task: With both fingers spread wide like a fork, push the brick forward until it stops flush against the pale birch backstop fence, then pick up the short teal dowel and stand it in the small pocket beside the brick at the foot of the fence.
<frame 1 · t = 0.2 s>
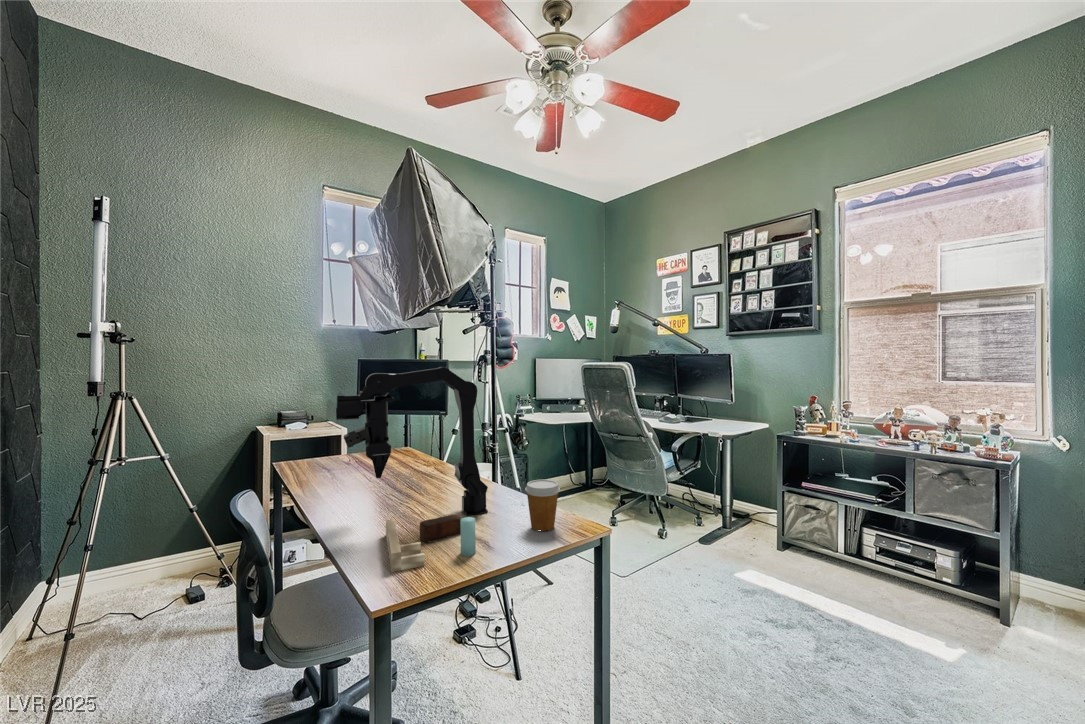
hand: (377, 474, 122), 14 cm above the table, tool pointing down, fingers open, 9 cm apart
backstop fence: (392, 551, 106), on the table
disposable coffee cup: (542, 528, 120), on the table
brick: (441, 537, 115), on the table
dowel: (468, 553, 104), on the table
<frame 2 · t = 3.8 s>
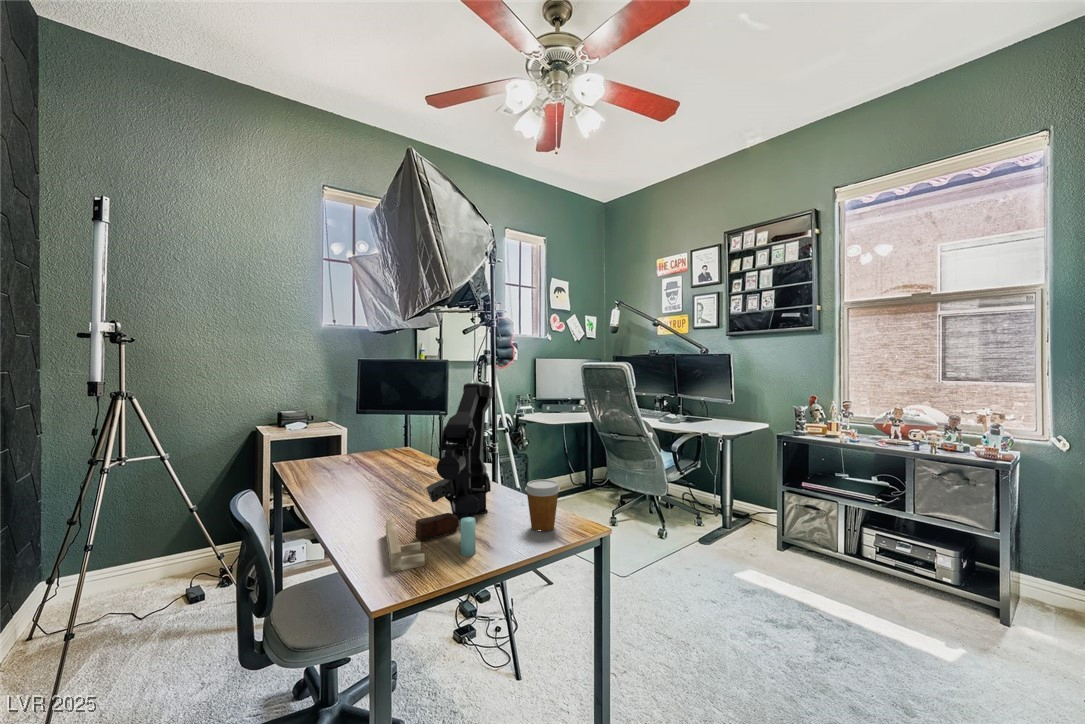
hand: (460, 527, 116), 2 cm above the table, tool pointing down, fingers open, 9 cm apart
brick: (437, 535, 116), on the table, touching gripper
everything else where it was.
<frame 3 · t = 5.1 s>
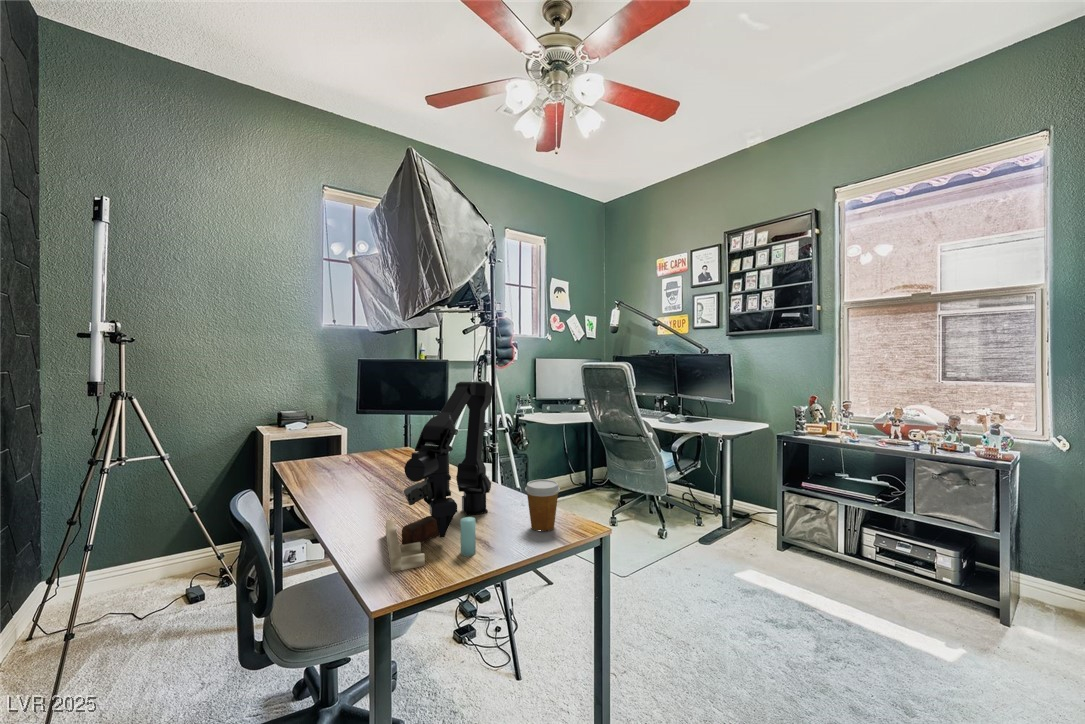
hand: (438, 530, 114), 2 cm above the table, tool pointing down, fingers open, 9 cm apart
brick: (422, 540, 113), on the table, touching gripper
everything else where it was.
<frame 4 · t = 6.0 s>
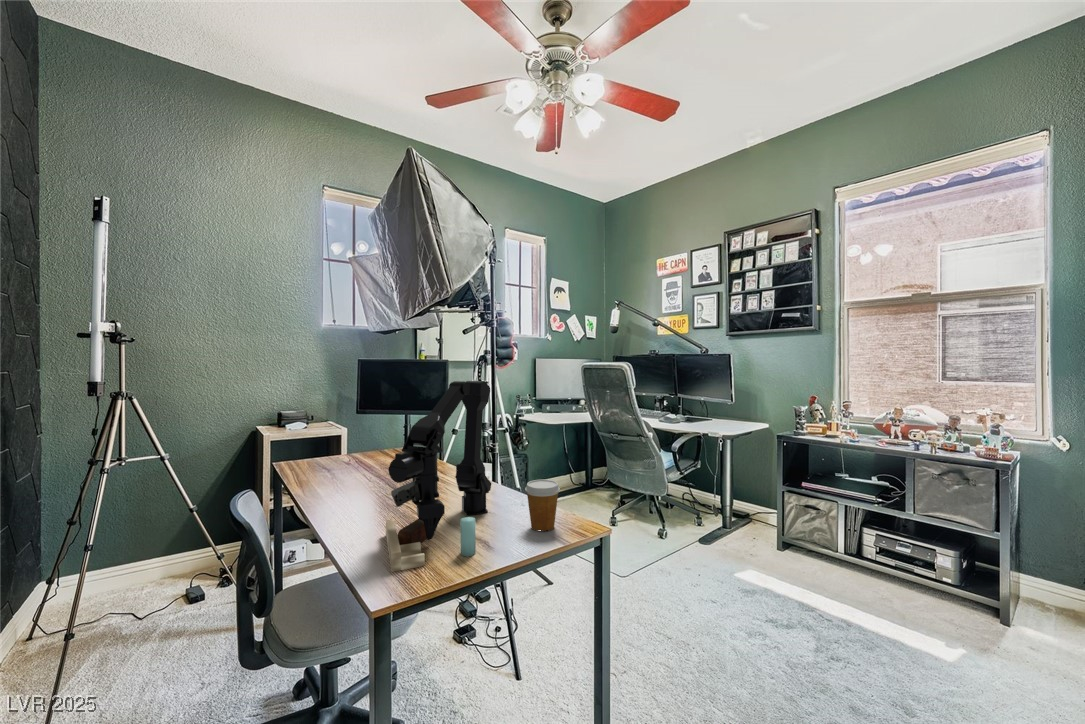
hand: (426, 532, 113), 2 cm above the table, tool pointing down, fingers open, 9 cm apart
brick: (416, 542, 111), on the table, touching gripper
everything else where it was.
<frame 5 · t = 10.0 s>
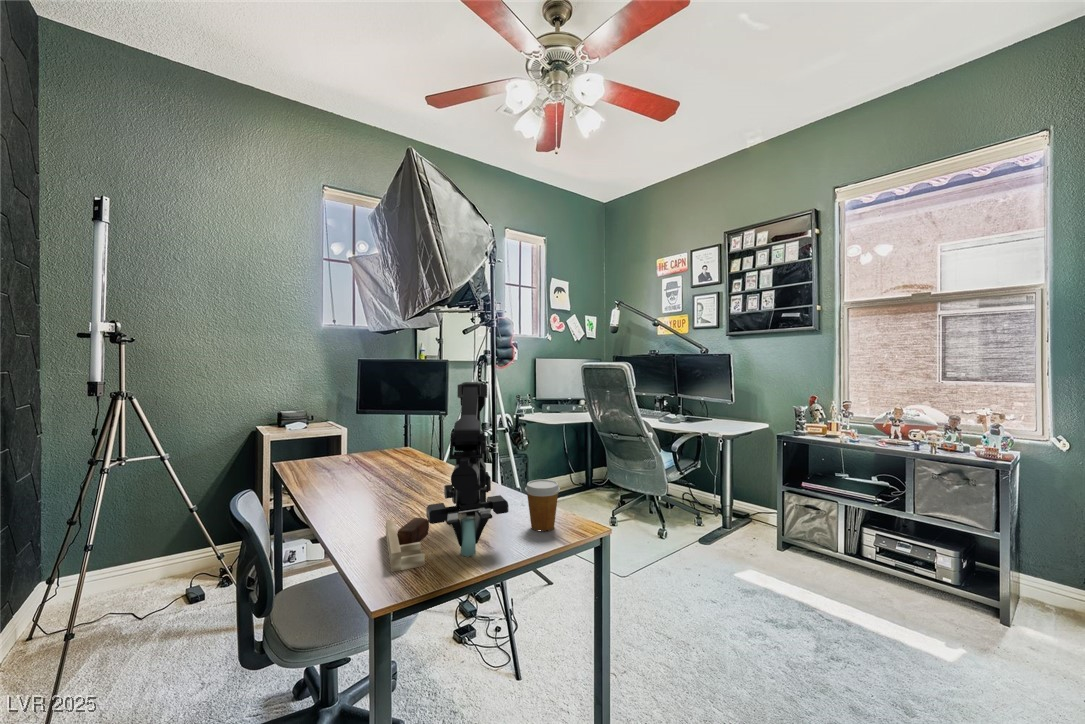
hand: (468, 544, 104), 2 cm above the table, tool pointing down, fingers closed on dowel, 3 cm apart
brick: (413, 542, 112), on the table
dowel: (468, 553, 104), on the table, touching gripper
everything else where it was.
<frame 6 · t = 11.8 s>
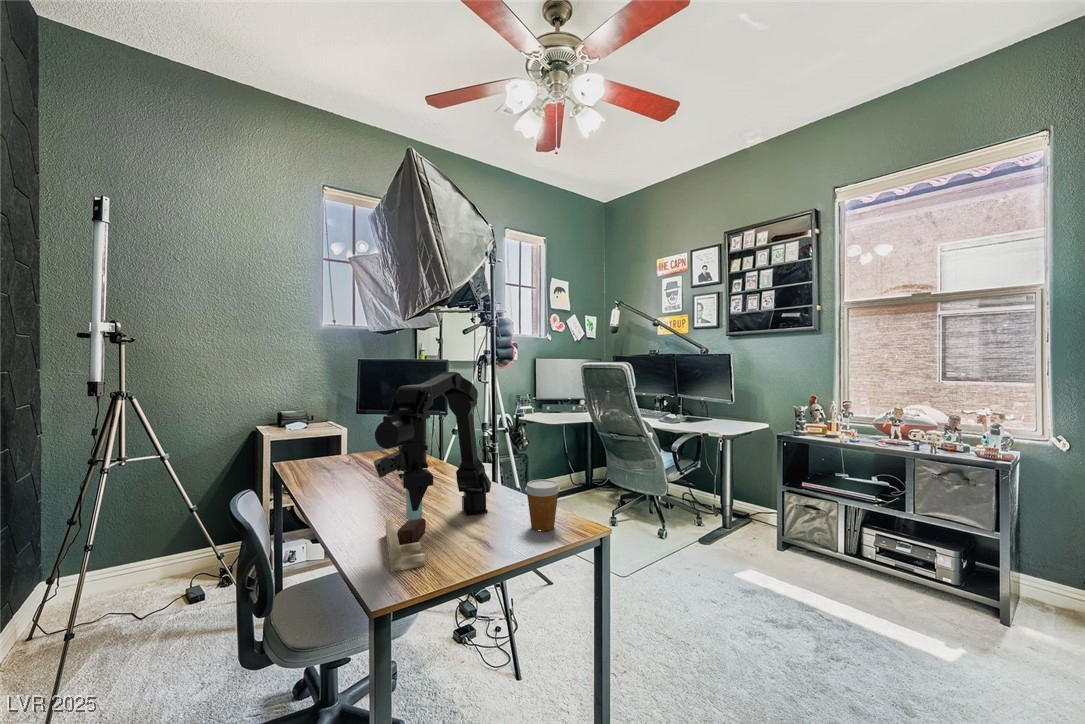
hand: (413, 508, 101), 12 cm above the table, tool pointing down, fingers closed on dowel, 3 cm apart
dowel: (414, 517, 101), point 10 cm above the table, touching gripper
when the fingers open (4 cm above the table, at t = 14.0 s): dowel drops 2 cm, on the table.
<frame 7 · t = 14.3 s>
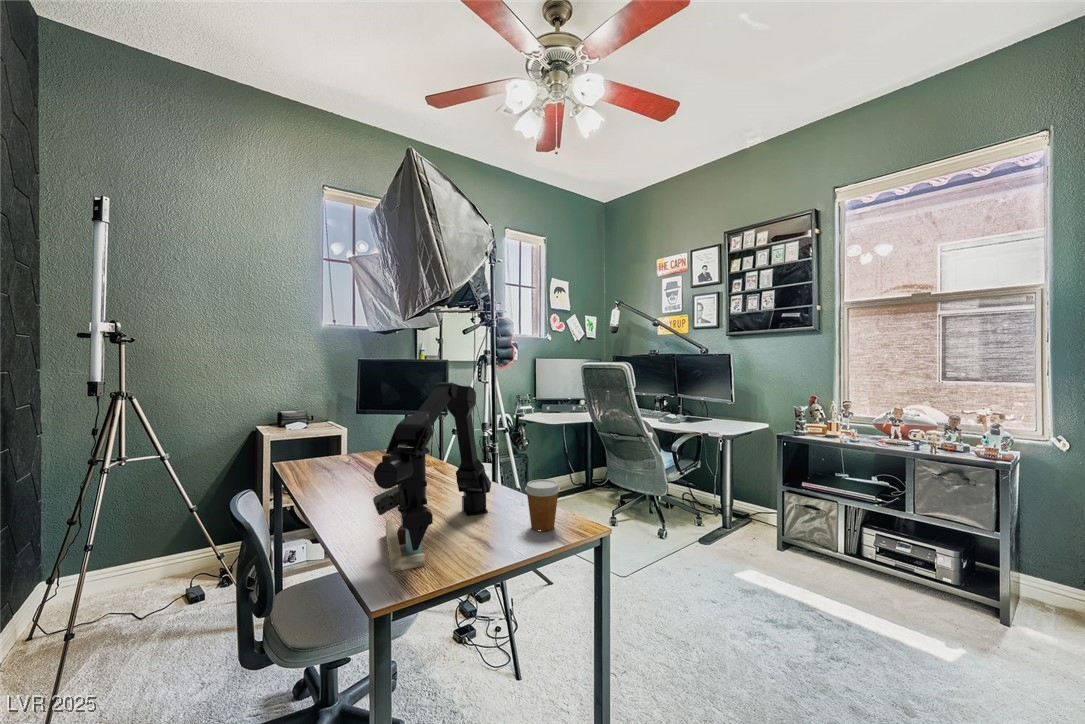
hand: (413, 543, 101), 4 cm above the table, tool pointing down, fingers open, 7 cm apart
dowel: (413, 560, 101), on the table
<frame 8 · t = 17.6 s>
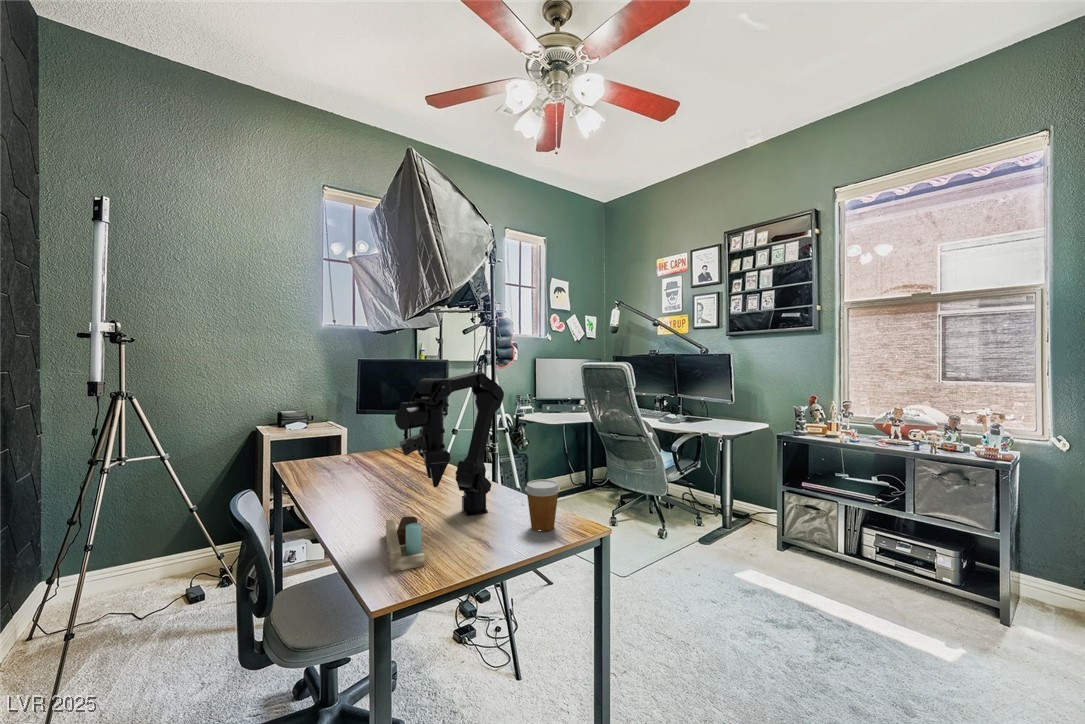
hand: (432, 482, 118), 13 cm above the table, tool pointing down, fingers open, 9 cm apart
at the end: brick inside the target area (1.9 cm from its centre), on the table; dowel 0.4 cm from the target spot, on the table; dowel tilted 0° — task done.
